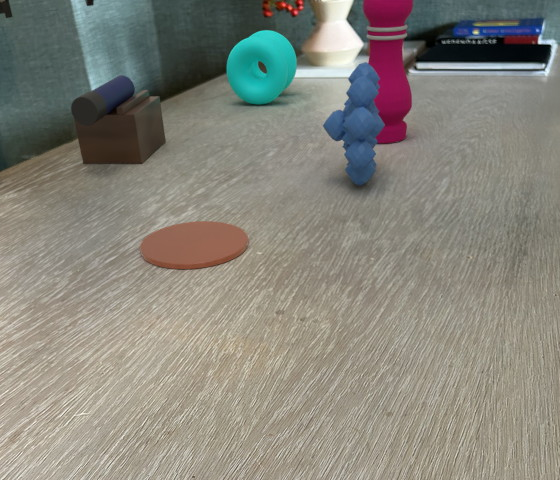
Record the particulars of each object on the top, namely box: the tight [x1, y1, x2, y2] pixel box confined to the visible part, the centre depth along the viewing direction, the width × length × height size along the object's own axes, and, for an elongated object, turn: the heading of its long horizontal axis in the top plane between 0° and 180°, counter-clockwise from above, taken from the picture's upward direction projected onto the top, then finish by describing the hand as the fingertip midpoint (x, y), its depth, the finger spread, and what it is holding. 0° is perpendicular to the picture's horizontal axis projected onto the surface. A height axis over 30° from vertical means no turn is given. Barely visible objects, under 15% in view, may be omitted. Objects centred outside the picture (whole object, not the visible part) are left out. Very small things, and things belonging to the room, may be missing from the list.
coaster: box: [139, 220, 249, 270], centre depth 62 cm, size 10×10×1 cm
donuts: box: [226, 29, 298, 106], centre depth 110 cm, size 10×10×10 cm
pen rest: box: [73, 89, 167, 165], centre depth 88 cm, size 10×8×7 cm
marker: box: [70, 75, 136, 126], centre depth 83 cm, size 13×3×3 cm, turn 170°
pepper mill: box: [362, 0, 414, 144], centre depth 85 cm, size 7×7×20 cm
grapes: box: [322, 61, 385, 186], centre depth 73 cm, size 12×7×12 cm, turn 171°
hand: (47, 2), depth 71 cm, fingers open, 8 cm apart
